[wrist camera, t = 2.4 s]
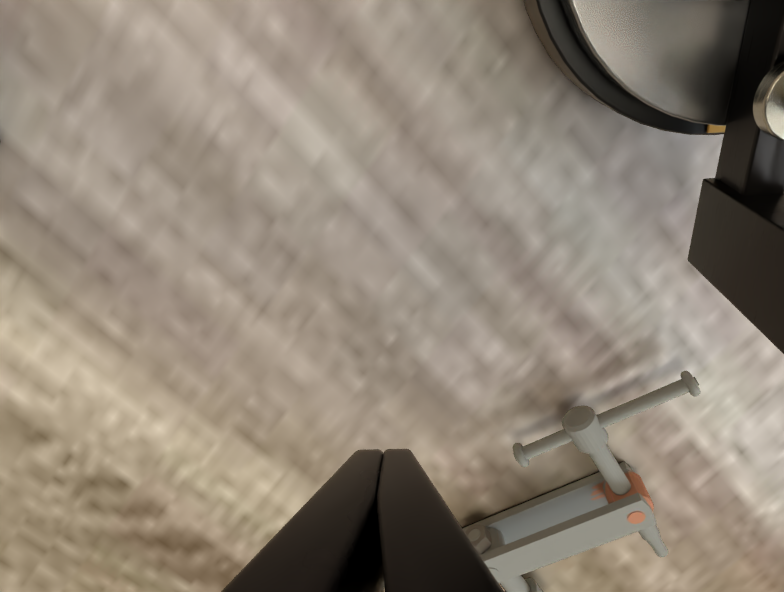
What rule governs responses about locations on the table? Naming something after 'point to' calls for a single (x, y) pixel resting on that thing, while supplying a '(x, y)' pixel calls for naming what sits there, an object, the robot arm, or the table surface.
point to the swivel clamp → (713, 107)
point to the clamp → (574, 499)
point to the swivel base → (598, 72)
